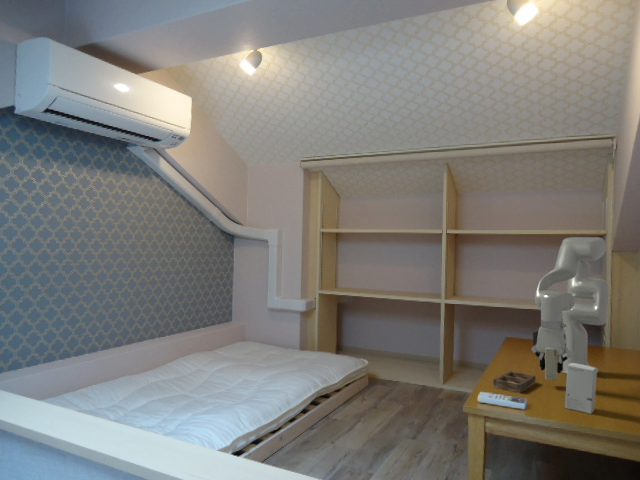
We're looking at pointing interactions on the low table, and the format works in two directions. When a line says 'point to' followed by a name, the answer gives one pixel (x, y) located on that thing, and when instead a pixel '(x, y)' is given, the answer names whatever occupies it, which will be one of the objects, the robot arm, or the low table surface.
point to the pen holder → (535, 338)
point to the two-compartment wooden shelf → (514, 381)
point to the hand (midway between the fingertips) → (551, 370)
